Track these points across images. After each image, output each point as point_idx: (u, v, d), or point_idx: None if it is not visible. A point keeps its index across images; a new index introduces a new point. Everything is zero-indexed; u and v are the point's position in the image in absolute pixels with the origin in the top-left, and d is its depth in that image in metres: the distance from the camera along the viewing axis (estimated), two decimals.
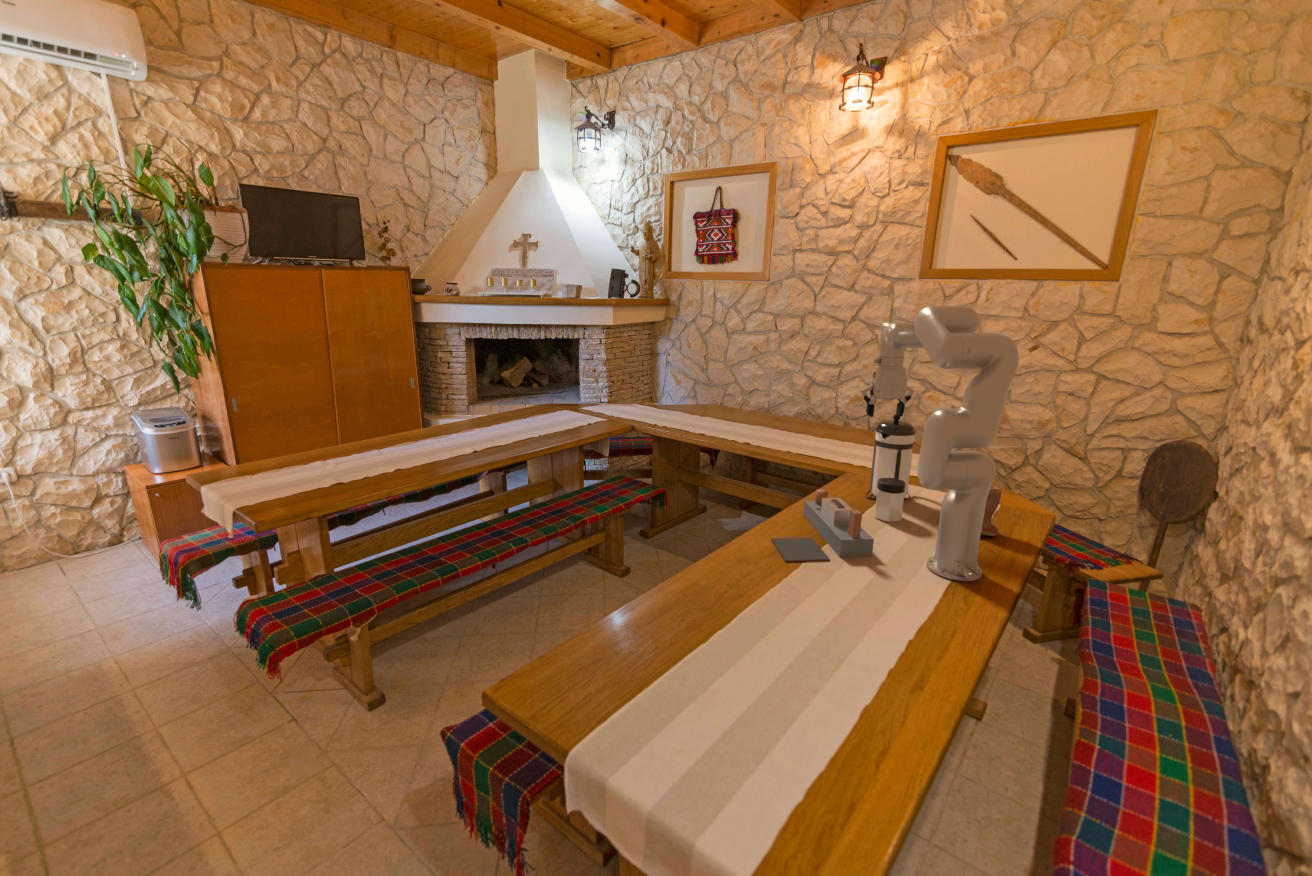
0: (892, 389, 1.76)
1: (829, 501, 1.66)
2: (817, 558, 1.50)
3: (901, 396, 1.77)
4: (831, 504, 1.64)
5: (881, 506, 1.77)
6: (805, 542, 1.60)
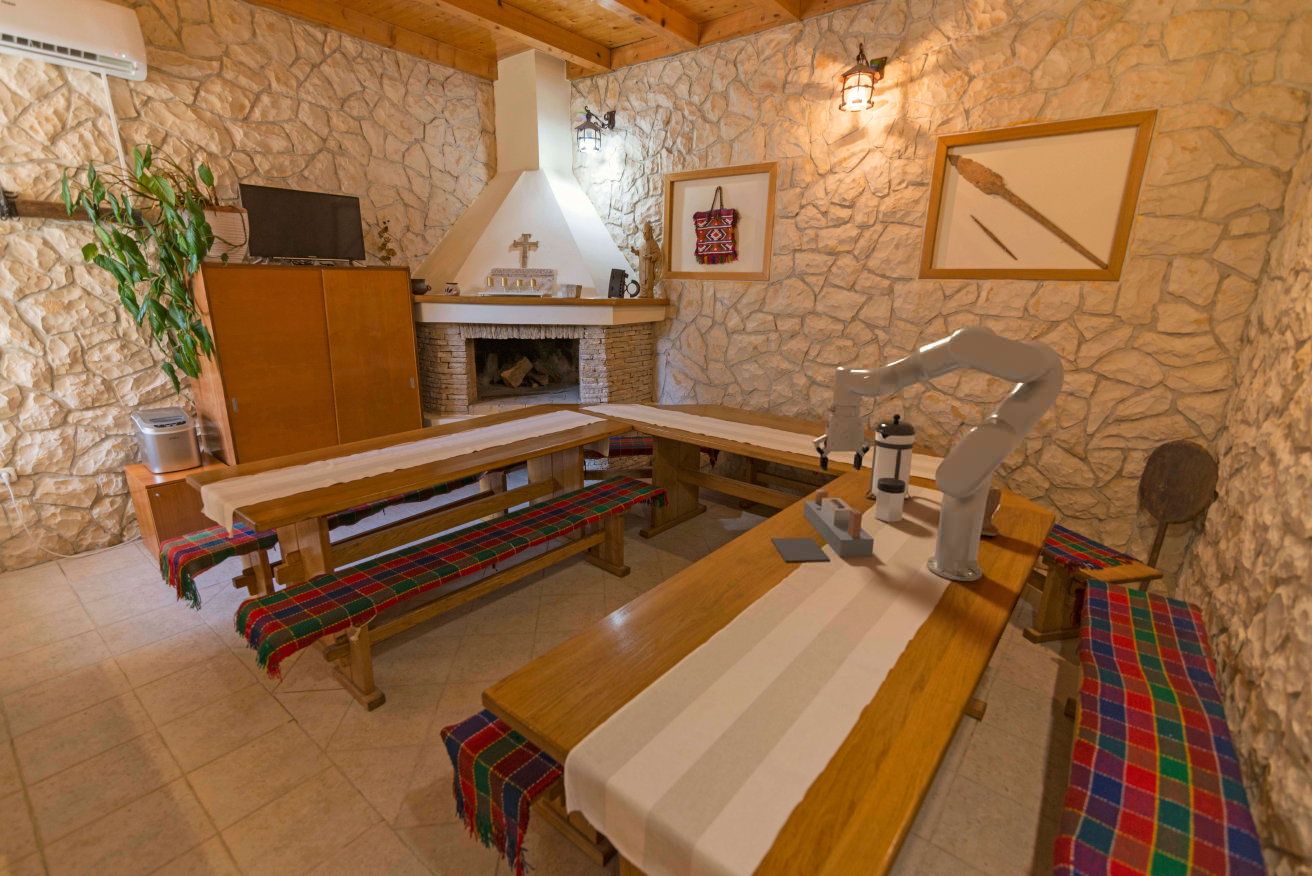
0: (847, 441, 1.57)
1: (829, 501, 1.66)
2: (817, 558, 1.50)
3: (858, 449, 1.58)
4: (831, 504, 1.64)
5: (881, 506, 1.77)
6: (805, 542, 1.60)
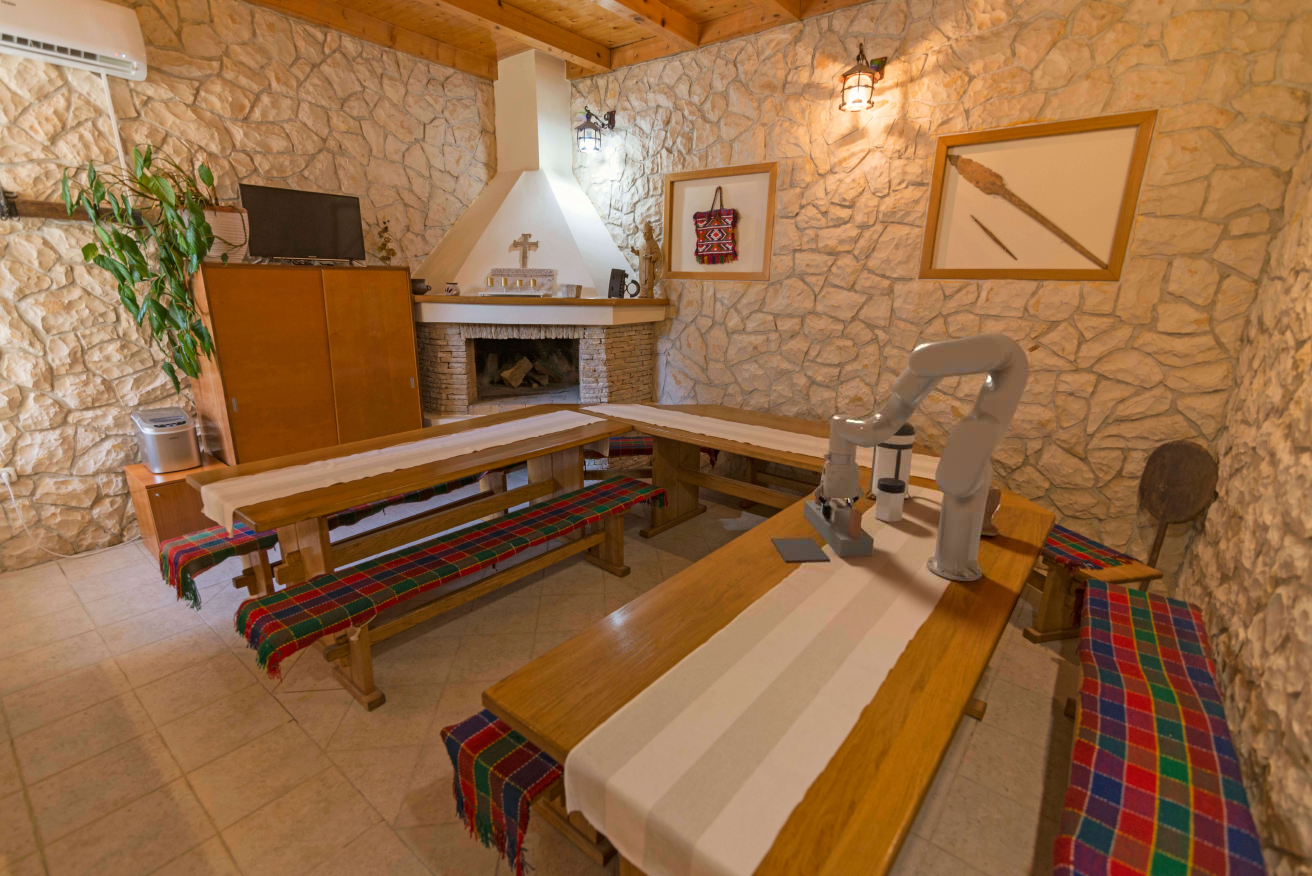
0: (843, 488, 1.60)
1: None
2: (817, 558, 1.50)
3: (853, 495, 1.61)
4: (831, 504, 1.64)
5: (881, 506, 1.77)
6: (805, 542, 1.60)
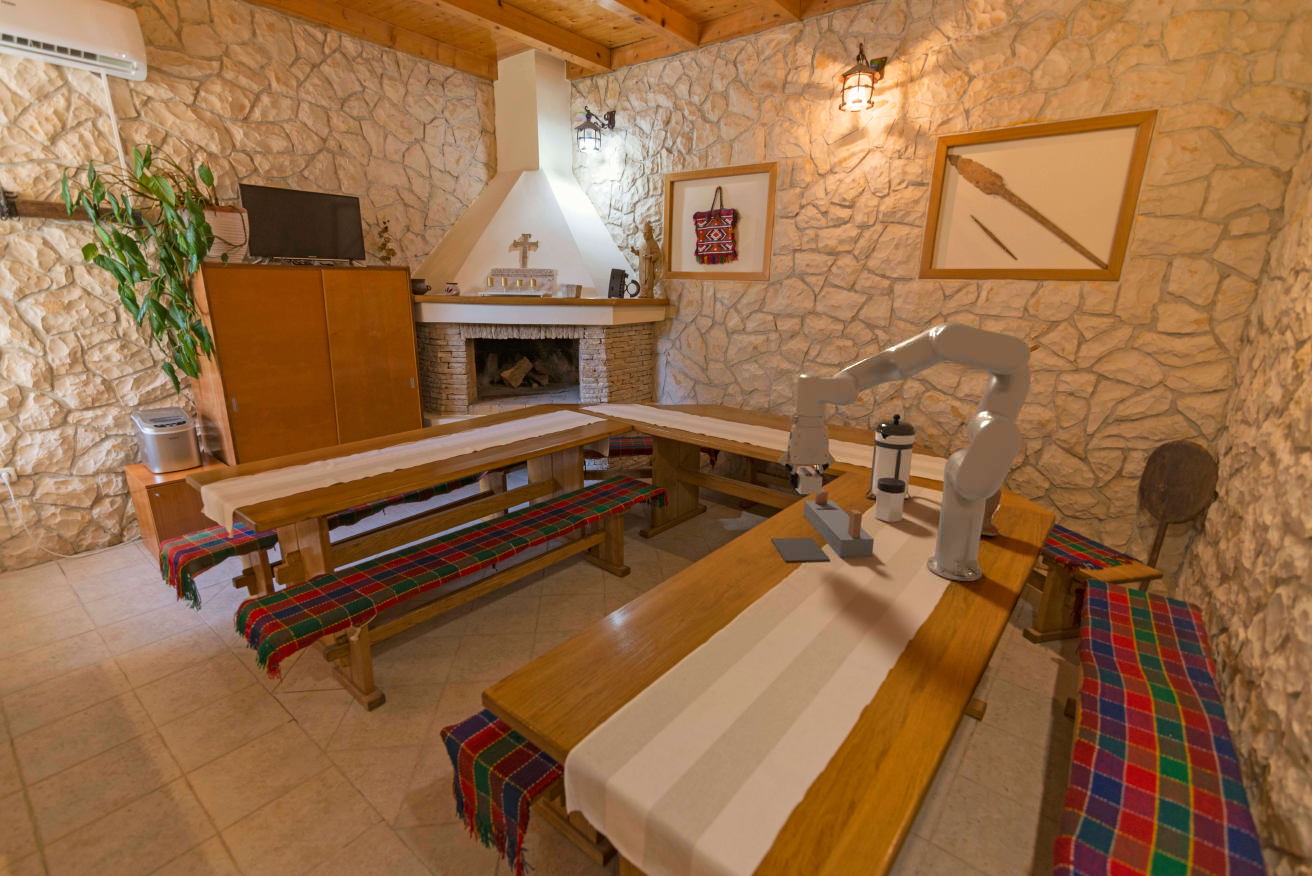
0: (811, 453, 1.47)
1: (797, 469, 1.53)
2: (817, 558, 1.50)
3: (823, 462, 1.48)
4: (798, 472, 1.50)
5: (881, 506, 1.77)
6: (805, 542, 1.60)
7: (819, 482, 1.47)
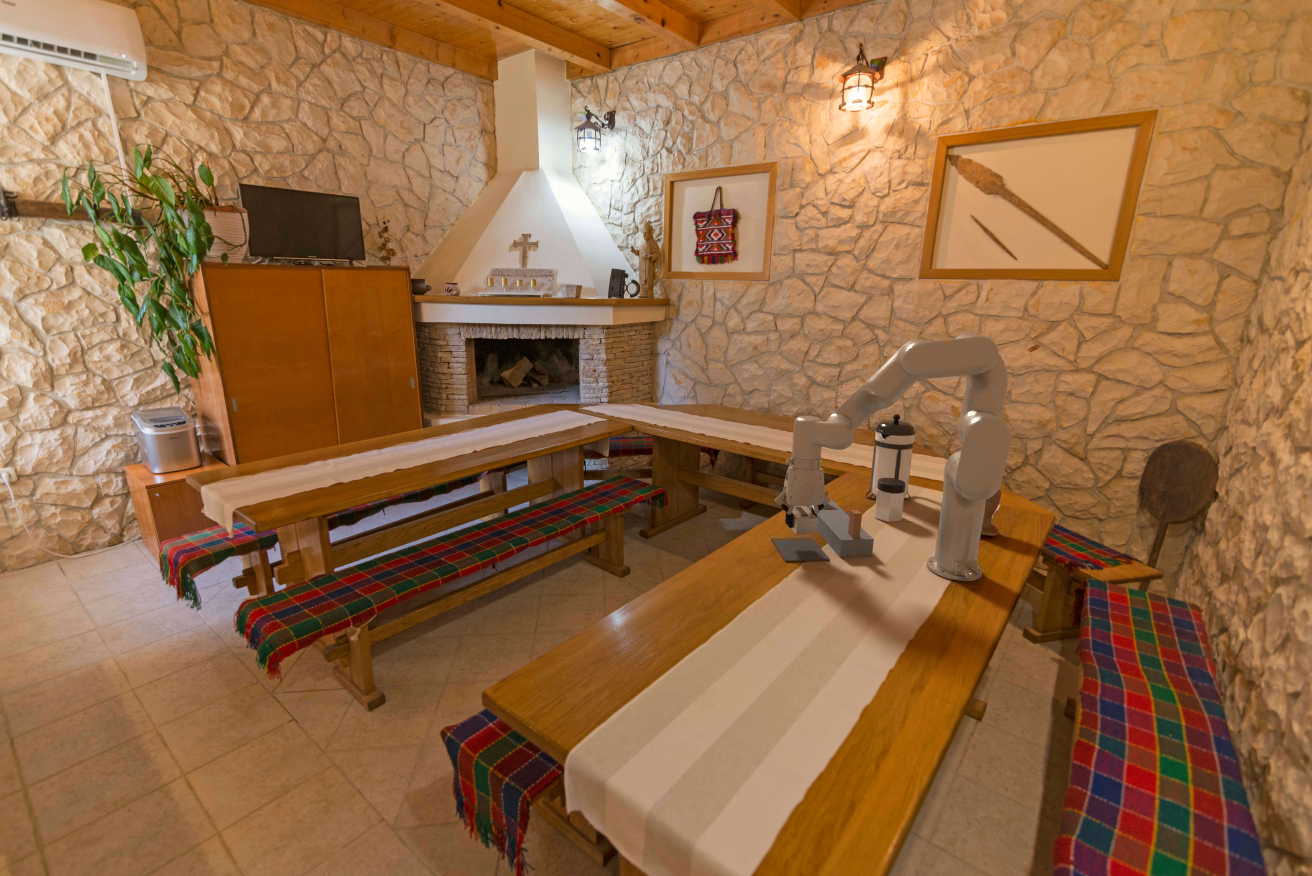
0: (807, 495, 1.49)
1: (793, 509, 1.55)
2: (817, 558, 1.50)
3: (818, 503, 1.50)
4: (794, 512, 1.53)
5: (881, 506, 1.77)
6: (805, 542, 1.60)
7: (815, 523, 1.49)
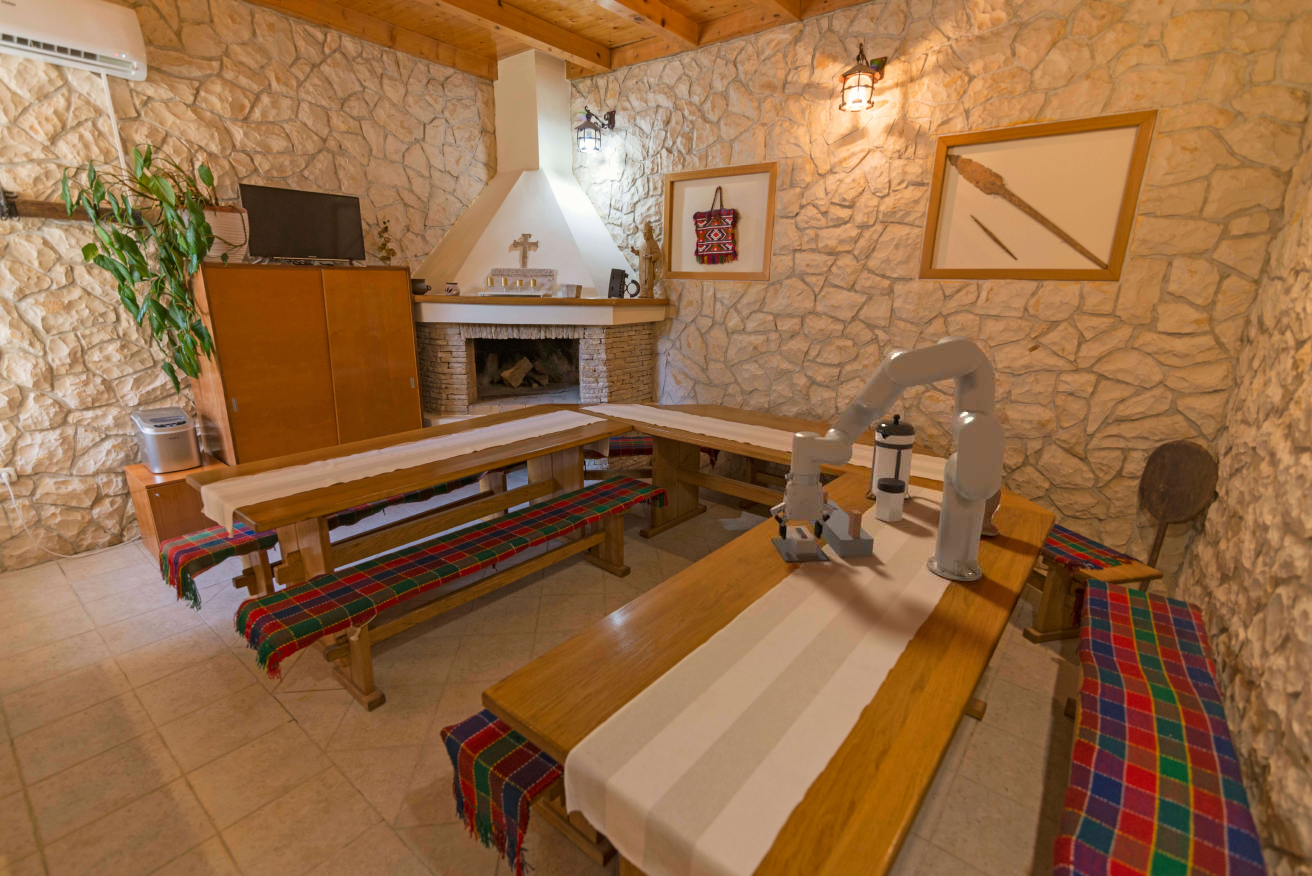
0: (806, 510, 1.50)
1: (792, 530, 1.57)
2: (817, 558, 1.50)
3: (817, 518, 1.51)
4: (794, 534, 1.54)
5: (881, 506, 1.77)
6: None
7: (814, 545, 1.51)
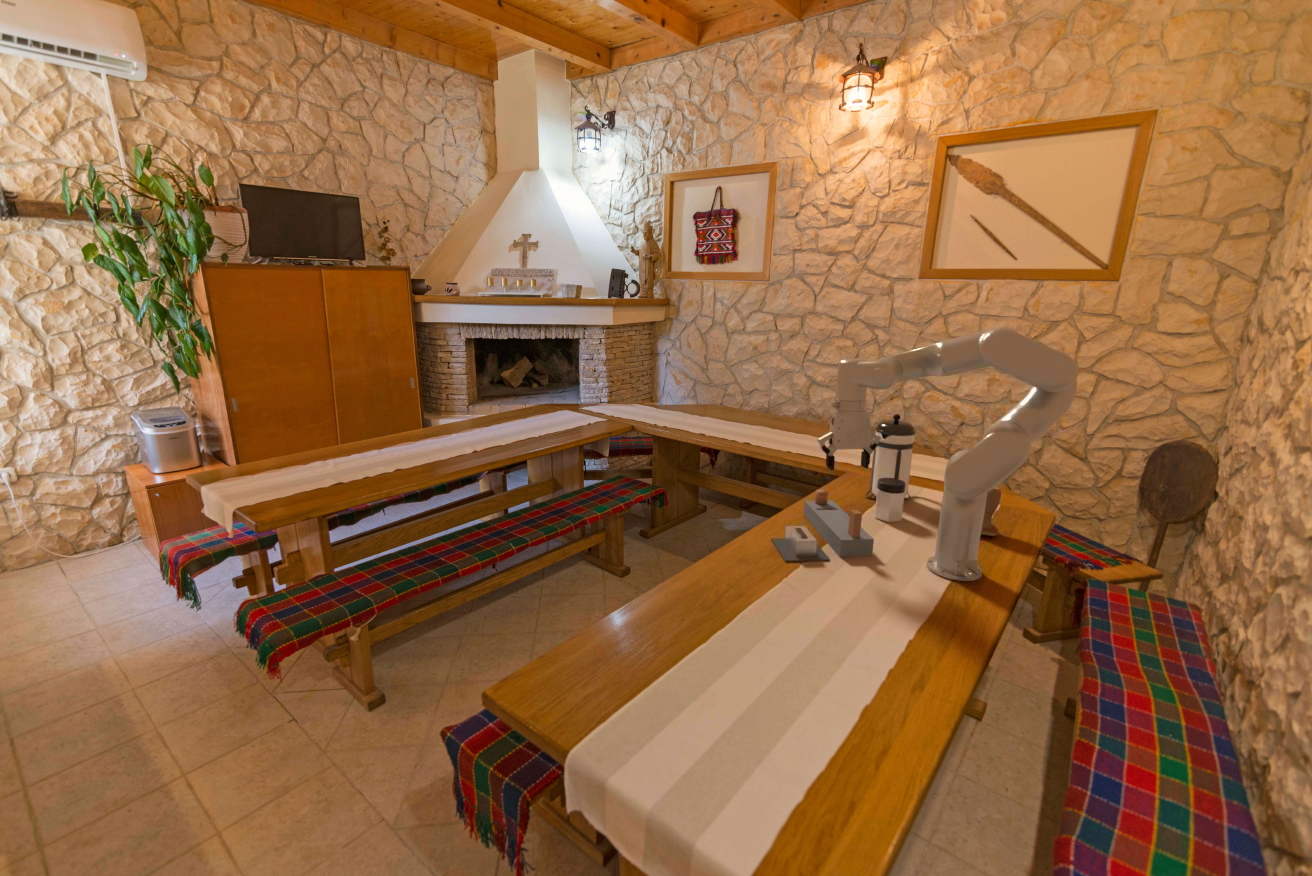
0: (854, 438, 1.49)
1: (792, 530, 1.57)
2: (817, 558, 1.50)
3: (865, 445, 1.50)
4: (794, 534, 1.54)
5: (881, 506, 1.77)
6: None
7: (814, 545, 1.51)
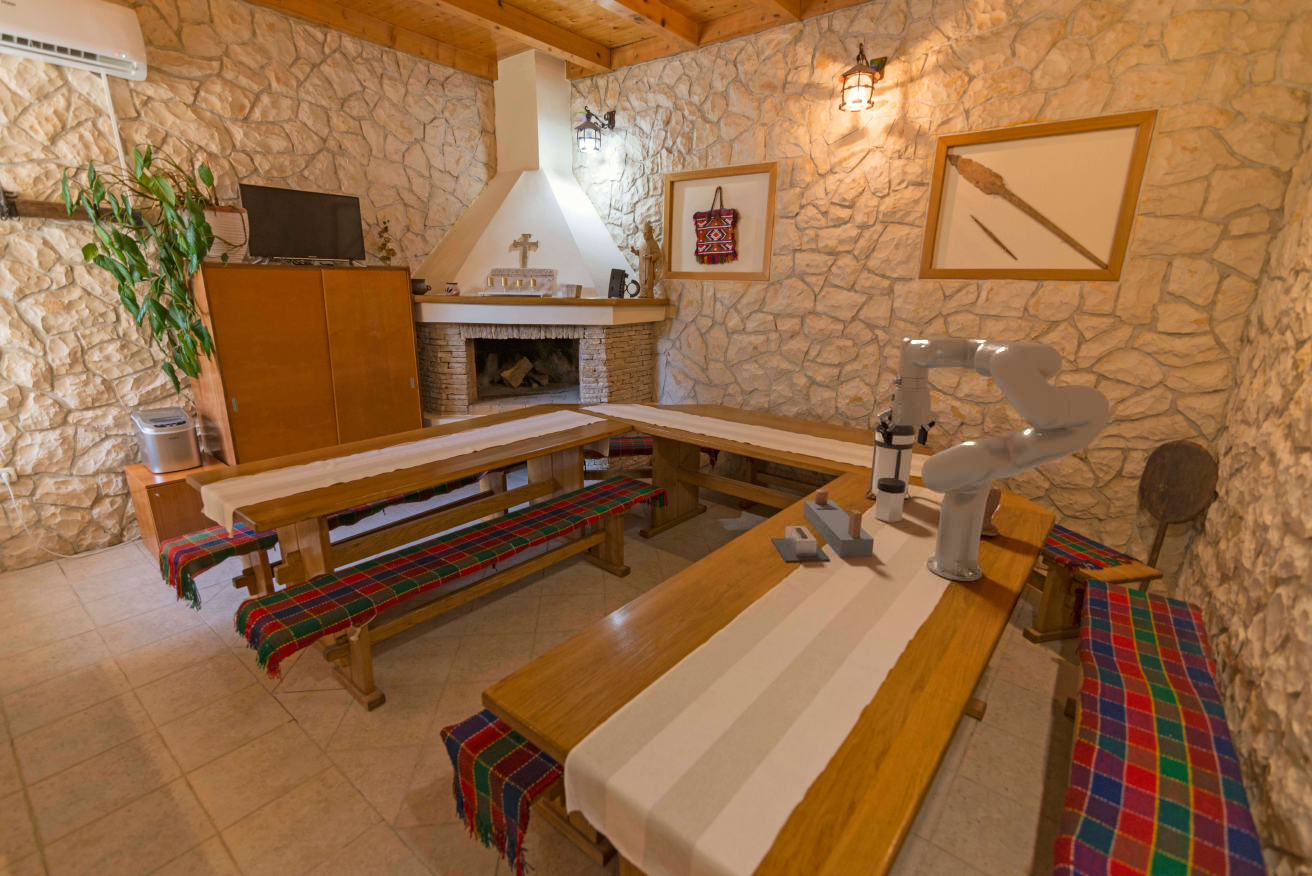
0: (914, 414, 1.52)
1: (792, 530, 1.57)
2: (817, 558, 1.50)
3: (924, 423, 1.53)
4: (794, 534, 1.54)
5: (881, 506, 1.77)
6: None
7: (814, 545, 1.51)
